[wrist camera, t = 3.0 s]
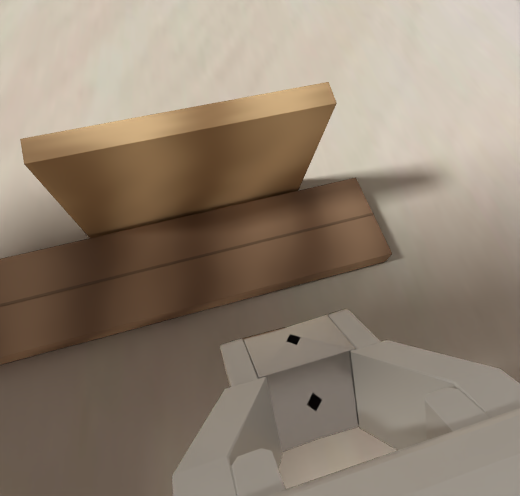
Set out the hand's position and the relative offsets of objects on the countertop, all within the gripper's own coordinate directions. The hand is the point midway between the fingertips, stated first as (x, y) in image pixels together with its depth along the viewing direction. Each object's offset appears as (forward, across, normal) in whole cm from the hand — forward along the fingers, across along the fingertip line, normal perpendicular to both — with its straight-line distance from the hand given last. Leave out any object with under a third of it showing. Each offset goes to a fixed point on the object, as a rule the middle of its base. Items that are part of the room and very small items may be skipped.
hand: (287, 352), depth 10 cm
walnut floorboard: (+18, +2, +4) cm, 18 cm away
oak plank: (+17, 0, -3) cm, 17 cm away
